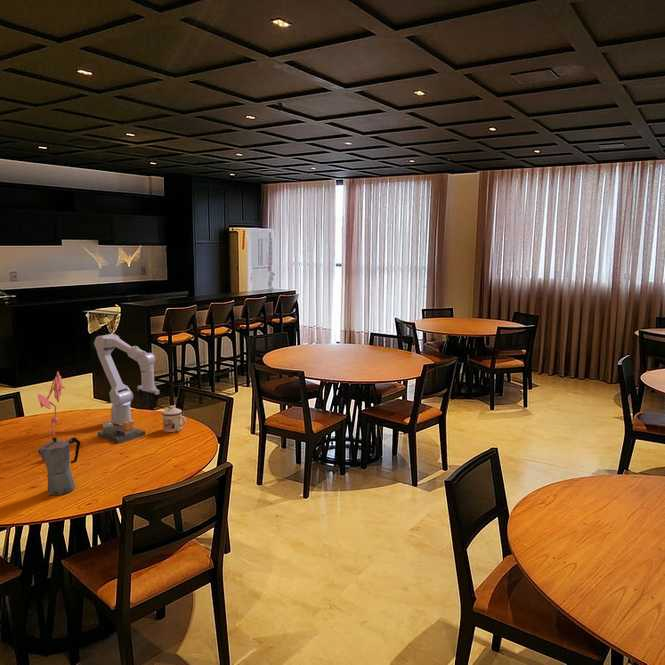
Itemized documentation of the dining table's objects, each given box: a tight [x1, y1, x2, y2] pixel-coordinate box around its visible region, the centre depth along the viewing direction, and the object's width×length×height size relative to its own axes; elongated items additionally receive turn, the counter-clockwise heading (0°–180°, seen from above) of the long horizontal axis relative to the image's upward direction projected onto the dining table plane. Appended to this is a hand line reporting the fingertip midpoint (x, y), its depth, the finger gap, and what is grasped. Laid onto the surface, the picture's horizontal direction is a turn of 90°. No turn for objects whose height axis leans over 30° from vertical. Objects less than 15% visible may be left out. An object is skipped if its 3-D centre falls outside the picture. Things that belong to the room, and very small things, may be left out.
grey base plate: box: [97, 420, 146, 444], centre depth 267 cm, size 16×14×6 cm
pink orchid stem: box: [37, 371, 82, 465], centre depth 242 cm, size 15×26×35 cm, turn 16°
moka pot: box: [36, 436, 81, 496], centre depth 208 cm, size 10×15×20 cm, turn 146°
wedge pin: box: [122, 420, 134, 431], centre depth 266 cm, size 3×3×7 cm
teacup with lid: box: [161, 405, 187, 433], centre depth 275 cm, size 12×9×12 cm
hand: (149, 406), depth 279 cm, fingers open, 7 cm apart
